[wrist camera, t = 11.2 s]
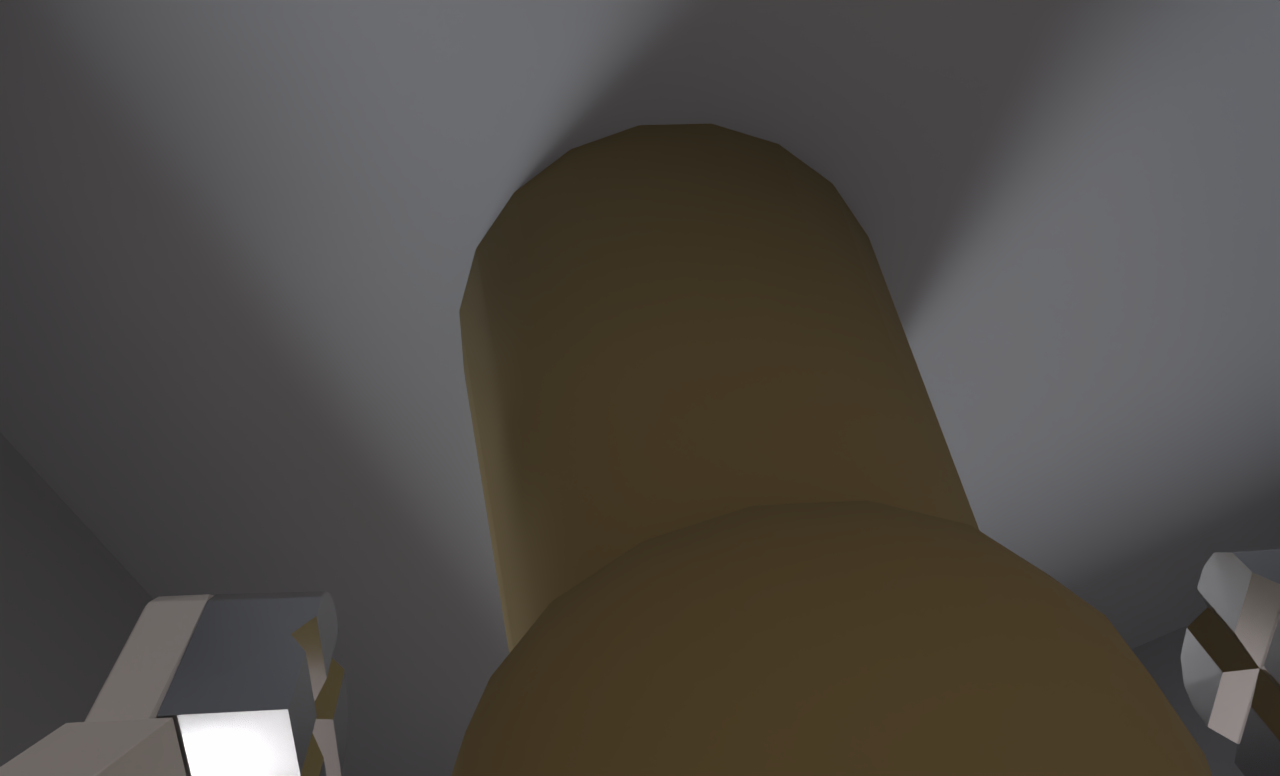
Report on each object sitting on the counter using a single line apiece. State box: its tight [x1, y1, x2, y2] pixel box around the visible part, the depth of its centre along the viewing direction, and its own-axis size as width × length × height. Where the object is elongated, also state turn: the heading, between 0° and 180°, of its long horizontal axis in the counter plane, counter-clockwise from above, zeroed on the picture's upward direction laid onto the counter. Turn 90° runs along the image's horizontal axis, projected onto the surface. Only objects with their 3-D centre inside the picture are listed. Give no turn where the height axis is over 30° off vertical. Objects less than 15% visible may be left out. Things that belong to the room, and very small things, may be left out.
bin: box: [0, 0, 1280, 776], centre depth 14 cm, size 20×20×6 cm
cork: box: [451, 124, 1212, 776], centre depth 11 cm, size 6×6×11 cm
